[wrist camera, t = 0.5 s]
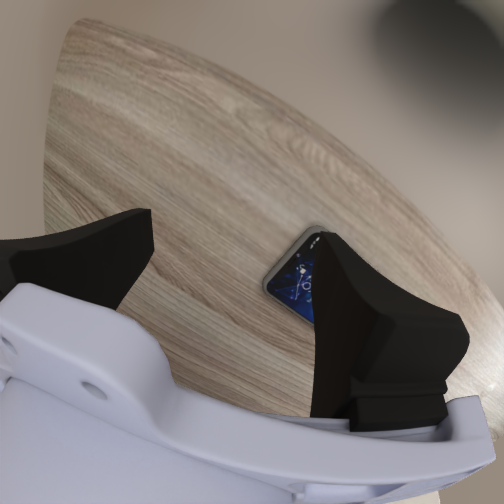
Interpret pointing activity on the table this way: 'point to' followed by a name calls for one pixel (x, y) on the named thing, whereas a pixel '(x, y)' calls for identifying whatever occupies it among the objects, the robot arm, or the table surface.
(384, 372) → the robot arm
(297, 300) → the smartphone
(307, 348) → the table surface
